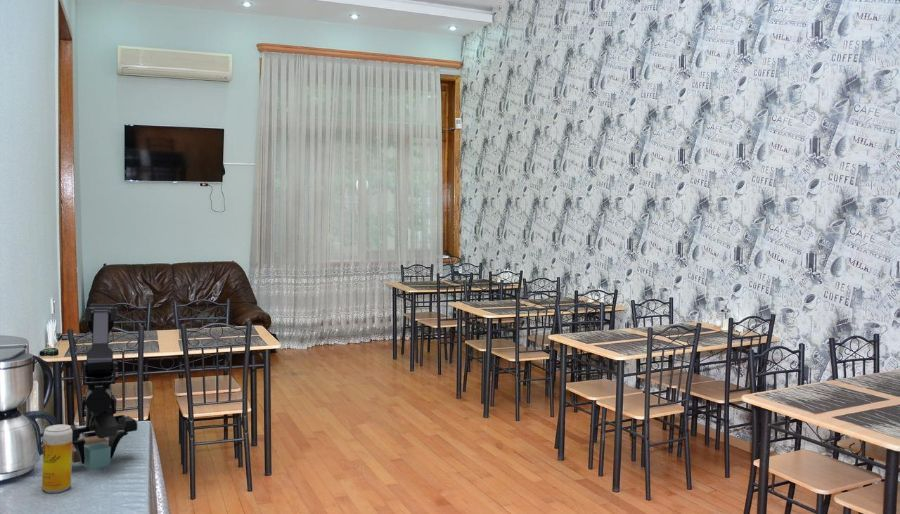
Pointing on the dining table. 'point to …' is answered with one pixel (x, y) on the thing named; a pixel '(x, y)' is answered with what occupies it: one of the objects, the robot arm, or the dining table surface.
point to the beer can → (57, 458)
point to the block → (97, 455)
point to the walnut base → (87, 442)
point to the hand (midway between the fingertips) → (96, 460)
